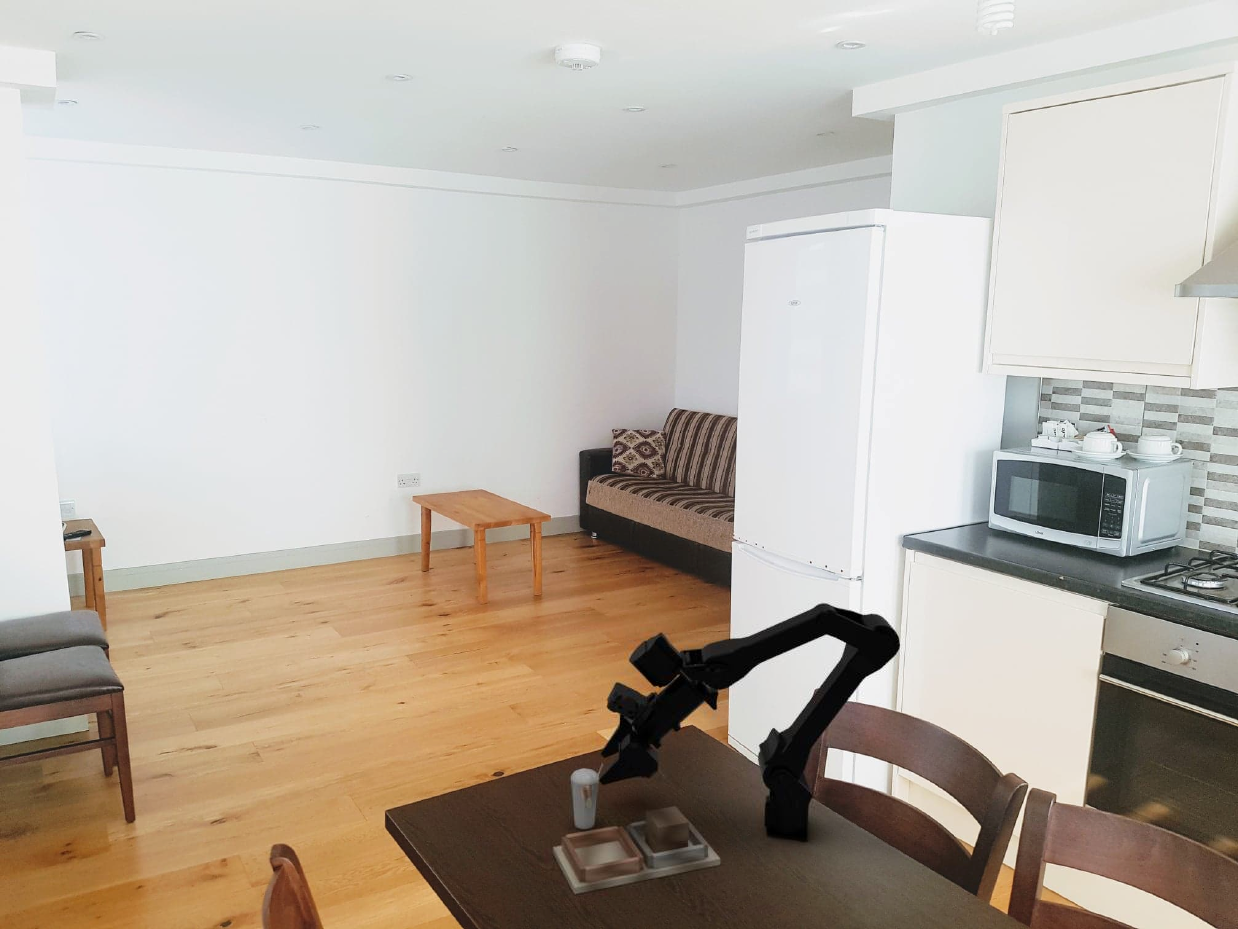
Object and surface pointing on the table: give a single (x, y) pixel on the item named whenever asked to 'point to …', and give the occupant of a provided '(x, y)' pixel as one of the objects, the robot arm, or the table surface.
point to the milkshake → (584, 796)
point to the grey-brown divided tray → (633, 852)
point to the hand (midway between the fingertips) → (601, 768)
